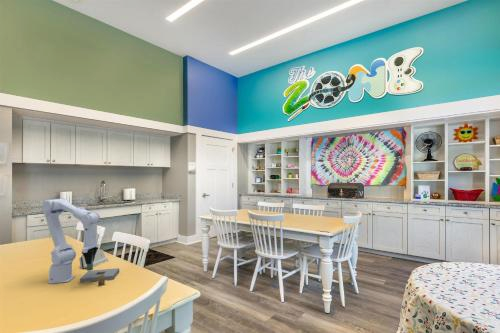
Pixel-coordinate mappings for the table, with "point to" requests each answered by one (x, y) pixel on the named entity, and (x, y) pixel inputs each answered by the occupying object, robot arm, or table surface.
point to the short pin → (101, 280)
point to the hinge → (97, 260)
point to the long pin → (90, 265)
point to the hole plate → (94, 274)
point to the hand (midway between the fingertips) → (89, 262)
